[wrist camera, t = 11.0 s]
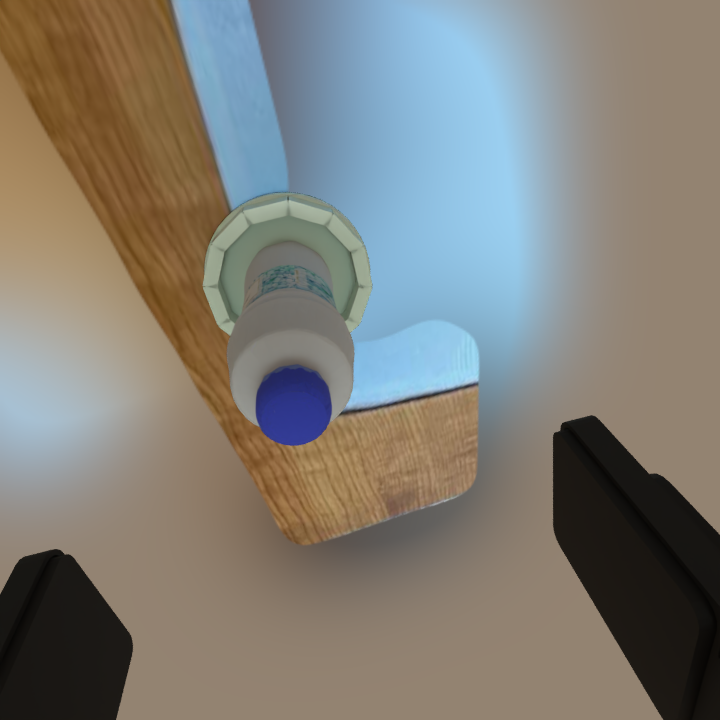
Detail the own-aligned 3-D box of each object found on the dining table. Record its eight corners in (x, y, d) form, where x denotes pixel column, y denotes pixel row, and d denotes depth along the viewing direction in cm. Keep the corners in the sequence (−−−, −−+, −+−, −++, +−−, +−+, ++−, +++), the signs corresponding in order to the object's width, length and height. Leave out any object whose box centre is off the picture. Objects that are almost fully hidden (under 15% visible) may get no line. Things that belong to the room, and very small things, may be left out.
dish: (179, 216, 37) (173, 223, 35) (349, 173, 37) (354, 178, 35) (236, 364, 43) (234, 378, 41) (382, 327, 43) (387, 339, 41)
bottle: (246, 226, 37) (214, 348, 20) (337, 237, 38) (385, 361, 21) (241, 312, 40) (210, 485, 22) (326, 320, 41) (360, 489, 24)
